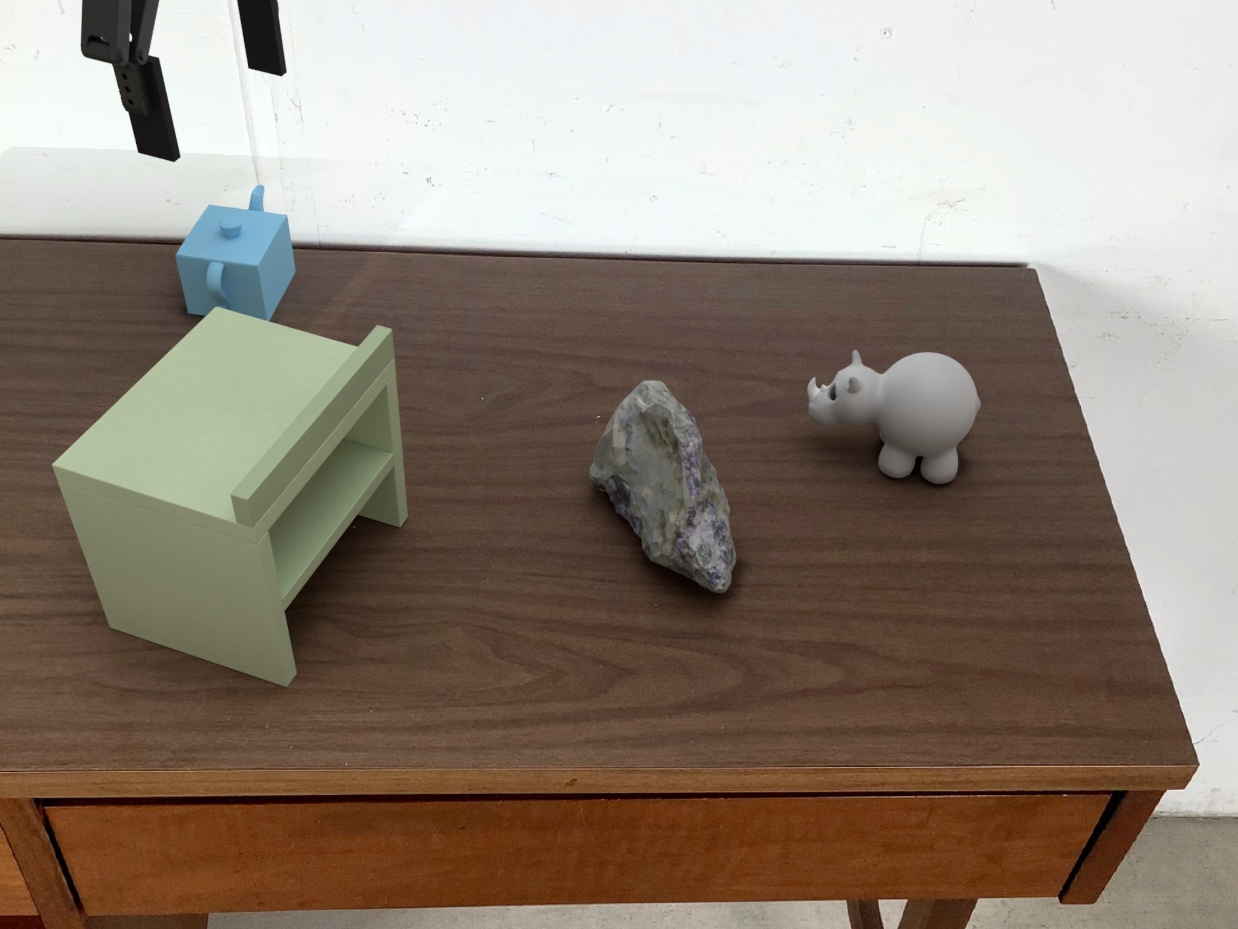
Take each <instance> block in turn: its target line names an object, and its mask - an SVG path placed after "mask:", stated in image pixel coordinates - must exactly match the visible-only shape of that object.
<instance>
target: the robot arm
mask: <svg viewBox="0 0 1238 929" xmlns="http://www.w3.org/2000/svg"><path fill="white" fill-rule="evenodd" d="M236 2H237V9H238V17H239V21H240V27H241V33H242V39H243V40H242V41H243V45H244V50H245V51H244V52H245V57H246V62H247V69H249V70H253V71H256V72H262V73H265V74H270V75H274V76H276V77H277V76H278V77H283V76H284V75H285V74H287V73H288V71H287V63H286V55H285V49H284V43H283V42H284V41H283V35H282V29H281V22H280V6H279V1H278V0H236ZM159 5H160V0H81V21H80V22H81V23H80V24H81V25H80V52H81V54H82V56H83V57H84V58H86V59H90V60H94V61H97V62H102V63H106V64H109V65H111V66H112V69H113V74H114V77H115V81H116V85H117V89H118V93H119V96H120V101H121V105H122V107H123V109H124V111H125V112H127V114H128V117H129V120H130V126H131V129H132V133H133V137H134V142H135V146H136V150H137V153H138V154H141V155H145V156H149V157H153V158H156V159H161V160H165V161H168V162H171V163H175V162H177V161H178V160H179V159H180V158H182V155H181V151H180V148H179V143H178V138H177V133H176V128H175V124H174V120H173V116H172V110H171V106H170V101H169V96H168V92H167V88H166V83H165V77H164V73H163V69H162V65H161V59H160V57H158V56H154V55H150V50H151V45H152V40H153V35H154V30H155V25H156V19H157V14H158V9H159ZM130 38H131V39H130Z"/></svg>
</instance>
